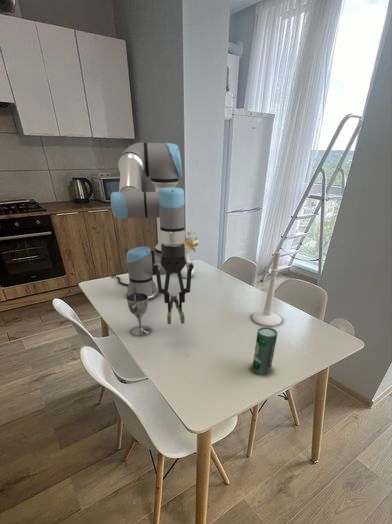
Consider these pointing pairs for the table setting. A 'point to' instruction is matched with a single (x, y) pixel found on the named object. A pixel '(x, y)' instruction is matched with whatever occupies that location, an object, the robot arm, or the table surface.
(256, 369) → the can
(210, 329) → the table surface
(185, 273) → the flower vase
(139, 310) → the wine glass
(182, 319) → the tongs
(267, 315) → the candlestick
